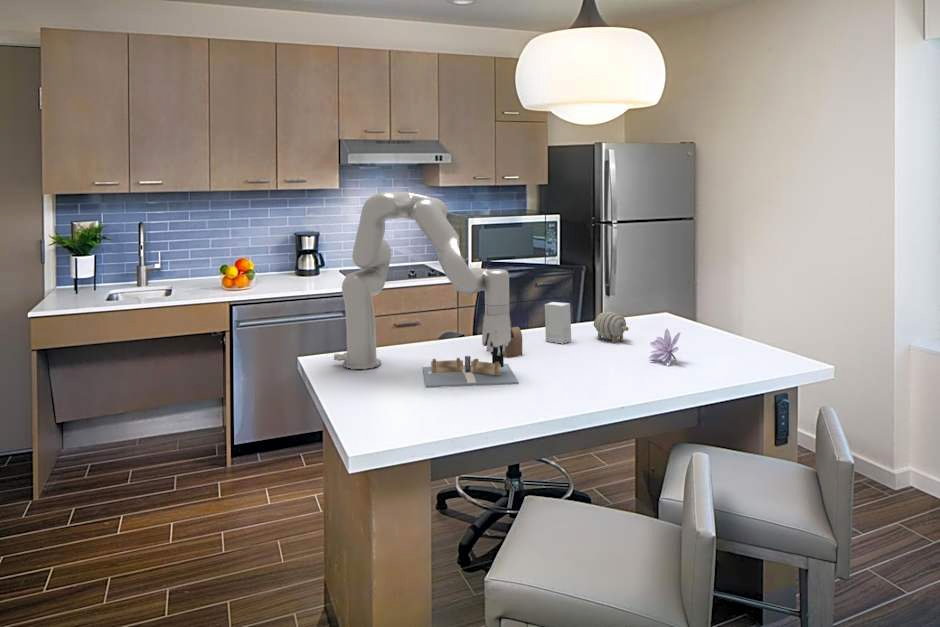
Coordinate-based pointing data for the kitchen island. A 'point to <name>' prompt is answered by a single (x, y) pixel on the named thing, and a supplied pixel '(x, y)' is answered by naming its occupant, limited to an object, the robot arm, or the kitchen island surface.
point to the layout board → (468, 378)
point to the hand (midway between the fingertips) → (497, 366)
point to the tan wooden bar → (486, 367)
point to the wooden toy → (514, 343)
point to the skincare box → (558, 322)
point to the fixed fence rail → (447, 365)
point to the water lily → (664, 347)
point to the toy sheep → (610, 325)
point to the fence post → (467, 363)
